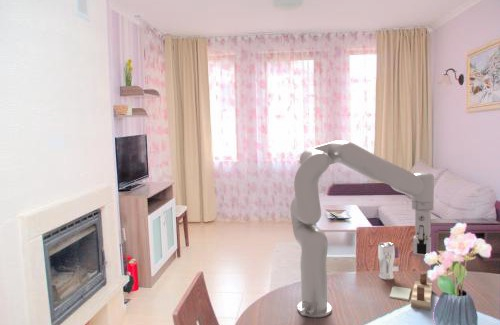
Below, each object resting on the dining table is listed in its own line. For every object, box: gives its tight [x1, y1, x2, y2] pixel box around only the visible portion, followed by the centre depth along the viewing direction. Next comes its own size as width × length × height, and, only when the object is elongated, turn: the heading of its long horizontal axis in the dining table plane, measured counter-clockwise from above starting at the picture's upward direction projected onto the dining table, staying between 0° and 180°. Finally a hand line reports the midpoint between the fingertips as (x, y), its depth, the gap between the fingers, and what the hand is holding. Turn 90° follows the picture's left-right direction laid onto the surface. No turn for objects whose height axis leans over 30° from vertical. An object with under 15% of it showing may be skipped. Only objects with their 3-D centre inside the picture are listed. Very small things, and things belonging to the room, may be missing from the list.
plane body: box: [410, 272, 433, 311], centre depth 151 cm, size 18×6×8 cm, turn 153°
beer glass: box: [377, 241, 396, 281], centre depth 172 cm, size 7×7×15 cm
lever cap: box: [412, 235, 432, 256], centre depth 149 cm, size 4×6×7 cm
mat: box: [389, 286, 412, 301], centre depth 156 cm, size 10×7×1 cm
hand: (421, 251), depth 149 cm, fingers closed on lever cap, 4 cm apart
